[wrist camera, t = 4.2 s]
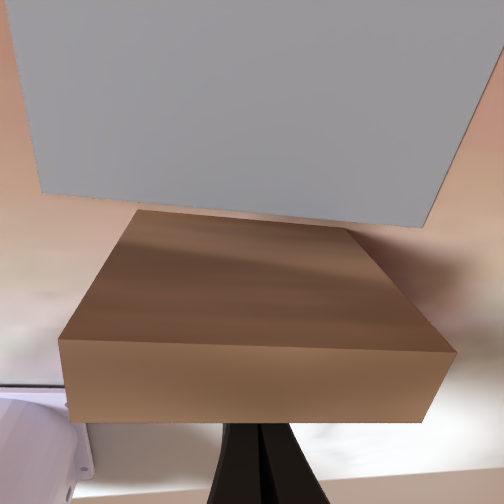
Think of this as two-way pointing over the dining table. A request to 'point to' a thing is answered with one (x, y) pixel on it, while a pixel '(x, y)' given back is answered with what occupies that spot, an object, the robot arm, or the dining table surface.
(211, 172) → the mat
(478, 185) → the dining table surface
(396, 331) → the walnut slab
